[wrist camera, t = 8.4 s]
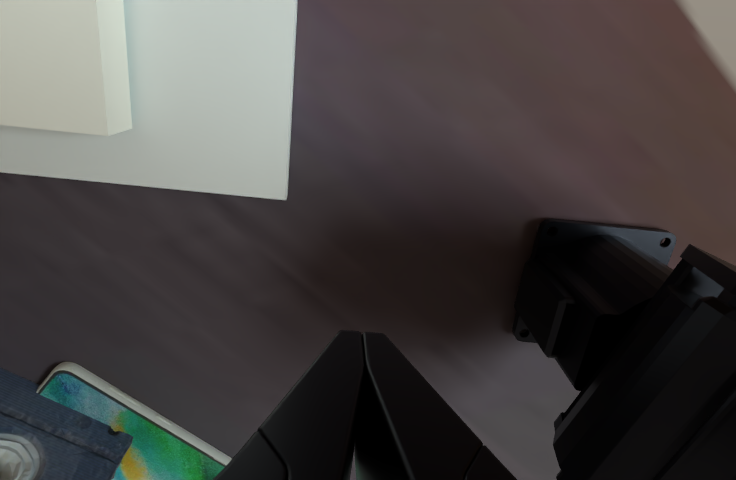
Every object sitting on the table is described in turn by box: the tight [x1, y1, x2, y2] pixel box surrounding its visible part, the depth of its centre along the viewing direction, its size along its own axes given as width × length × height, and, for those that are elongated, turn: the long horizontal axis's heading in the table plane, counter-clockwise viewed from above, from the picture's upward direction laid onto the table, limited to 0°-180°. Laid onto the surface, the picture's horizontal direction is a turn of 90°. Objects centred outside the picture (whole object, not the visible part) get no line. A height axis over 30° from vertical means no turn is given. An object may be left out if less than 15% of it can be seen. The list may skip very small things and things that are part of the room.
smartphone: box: [36, 362, 232, 480], centre depth 27 cm, size 7×1×15 cm
